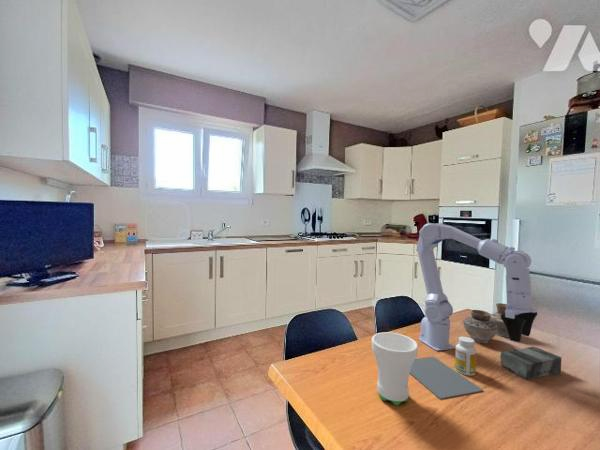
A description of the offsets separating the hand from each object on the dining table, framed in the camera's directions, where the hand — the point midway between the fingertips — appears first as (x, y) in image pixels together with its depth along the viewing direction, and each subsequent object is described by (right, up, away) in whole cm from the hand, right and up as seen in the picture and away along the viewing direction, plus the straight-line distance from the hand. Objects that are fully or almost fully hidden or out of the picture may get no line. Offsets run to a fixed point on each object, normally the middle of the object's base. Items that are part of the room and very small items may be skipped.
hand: (520, 338), depth 81 cm
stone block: (+5, -11, +4) cm, 13 cm away
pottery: (+9, -11, +26) cm, 29 cm away
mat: (-26, -10, -2) cm, 28 cm away
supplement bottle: (-16, -11, +1) cm, 19 cm away
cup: (-42, -10, -11) cm, 44 cm away
